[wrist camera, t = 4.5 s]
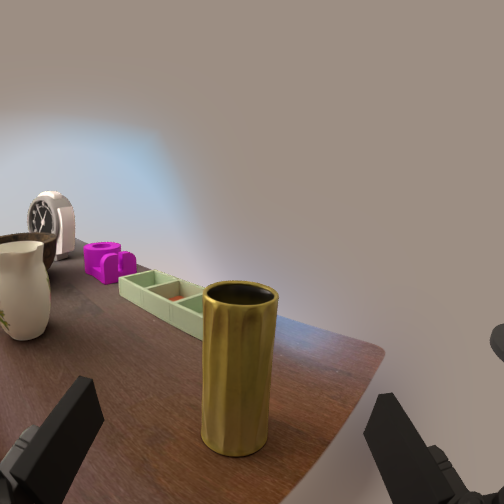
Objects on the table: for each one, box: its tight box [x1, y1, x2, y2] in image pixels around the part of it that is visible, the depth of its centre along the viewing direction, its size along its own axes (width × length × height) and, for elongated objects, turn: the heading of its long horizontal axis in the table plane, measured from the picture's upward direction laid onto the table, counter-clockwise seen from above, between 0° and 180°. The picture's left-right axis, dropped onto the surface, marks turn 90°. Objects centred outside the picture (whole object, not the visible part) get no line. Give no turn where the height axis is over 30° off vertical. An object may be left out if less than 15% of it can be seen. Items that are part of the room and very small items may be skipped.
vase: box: [201, 281, 279, 456], centre depth 22 cm, size 6×6×14 cm
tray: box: [118, 270, 205, 341], centre depth 50 cm, size 26×9×4 cm, turn 53°
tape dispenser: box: [84, 242, 137, 285], centre depth 66 cm, size 16×10×6 cm, turn 50°
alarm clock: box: [27, 191, 75, 261], centre depth 74 cm, size 18×8×20 cm, turn 80°
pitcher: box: [0, 241, 51, 340], centre depth 34 cm, size 11×18×14 cm, turn 65°
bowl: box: [0, 232, 57, 271], centre depth 52 cm, size 22×22×10 cm
